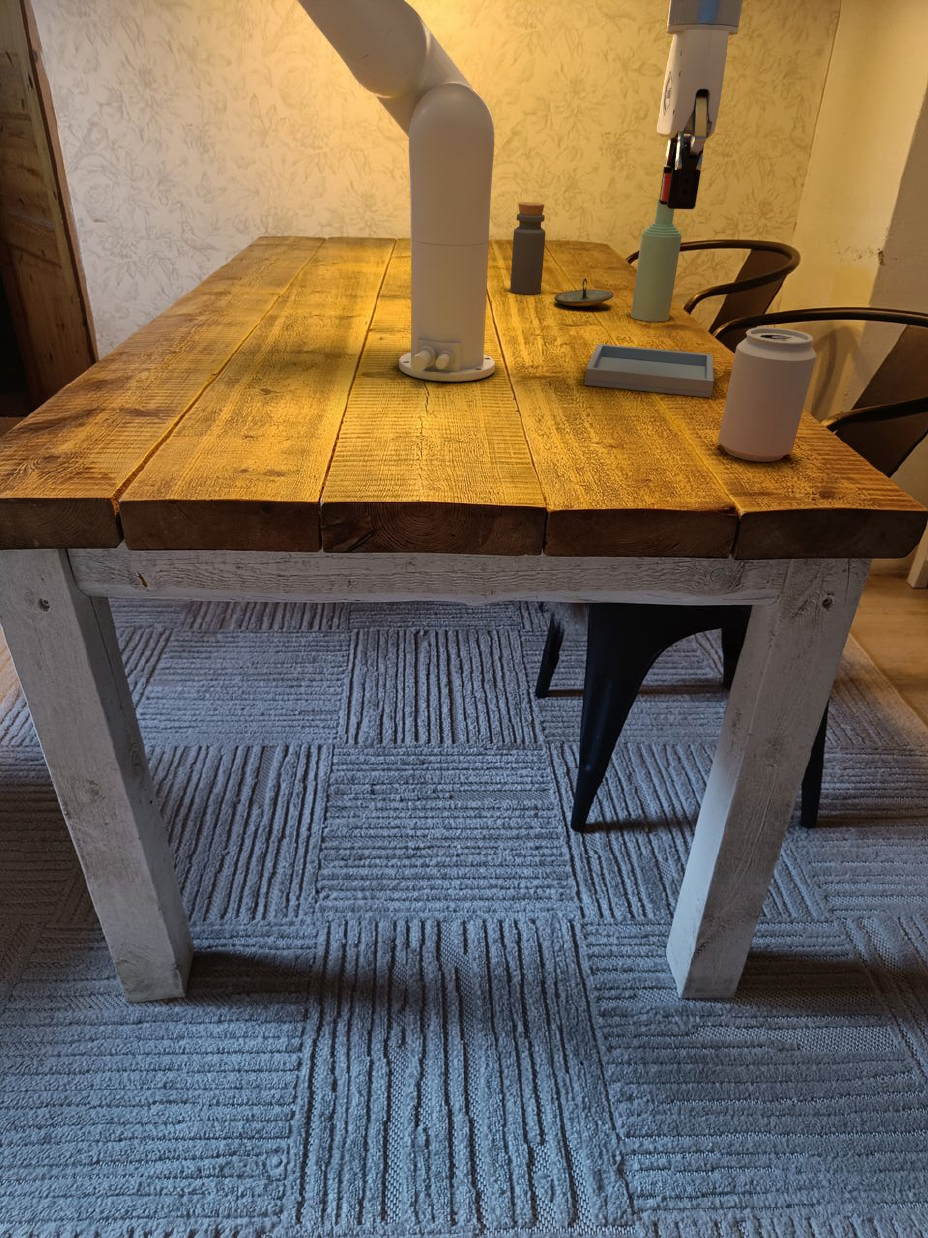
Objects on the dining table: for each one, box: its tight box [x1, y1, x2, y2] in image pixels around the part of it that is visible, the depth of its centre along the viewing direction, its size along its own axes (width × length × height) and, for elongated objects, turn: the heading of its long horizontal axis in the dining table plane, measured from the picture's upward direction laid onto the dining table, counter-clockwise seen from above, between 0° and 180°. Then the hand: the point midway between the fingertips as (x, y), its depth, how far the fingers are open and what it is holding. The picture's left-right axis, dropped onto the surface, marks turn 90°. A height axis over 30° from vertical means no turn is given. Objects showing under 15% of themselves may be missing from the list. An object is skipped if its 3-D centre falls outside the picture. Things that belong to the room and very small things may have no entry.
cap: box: [660, 173, 671, 202], centre depth 98 cm, size 4×4×3 cm
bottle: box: [509, 201, 546, 296], centre depth 153 cm, size 6×6×15 cm
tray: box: [584, 343, 715, 399], centre depth 109 cm, size 14×16×2 cm
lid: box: [553, 277, 614, 308], centre depth 147 cm, size 11×10×5 cm
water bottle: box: [630, 198, 683, 323], centre depth 137 cm, size 6×6×18 cm
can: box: [717, 326, 818, 463], centre depth 83 cm, size 8×8×12 cm
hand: (676, 204), depth 99 cm, fingers closed on cap, 4 cm apart
